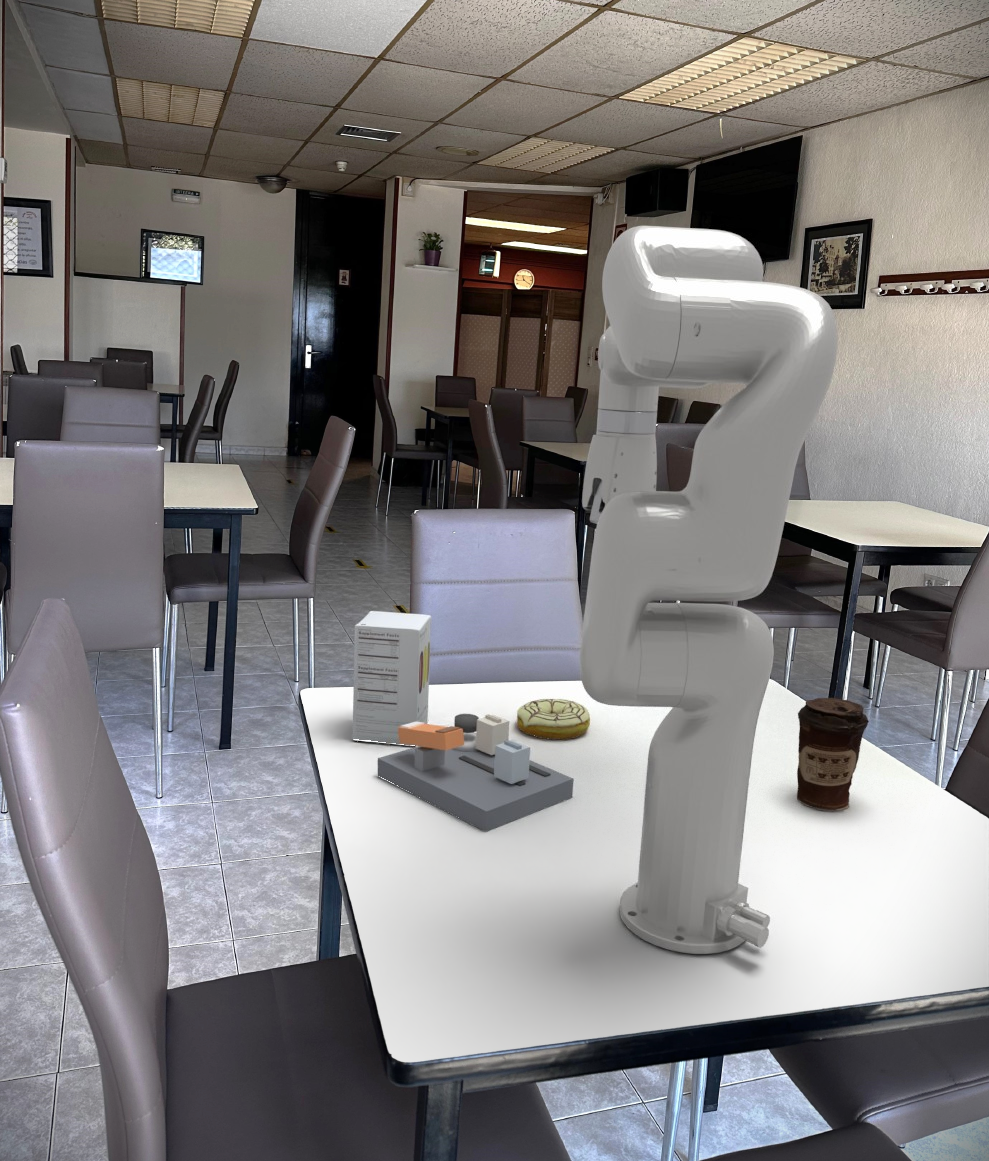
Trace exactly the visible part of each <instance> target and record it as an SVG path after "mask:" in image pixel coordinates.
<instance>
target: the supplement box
mask: <svg viewBox="0 0 989 1161" xmlns="http://www.w3.org/2000/svg"><path fill="white" fill-rule="evenodd" d="M431 630H432V615H431V614H421V613H405V612H391V611H377V610H371V611H369V612H368V613H367V614H366V615H365V616H364V617H363V618H362V619H361V620H360V621H359V622H358V623H356V624H355V625H354V635H353V638H354V642H353V693H352V694H353V698H352V699H353V700H352V704H353V705H352V706H353V707H352V740H353V739H359V740H371V741H378V742H386V743H396V744H403V743H399V734H398V727H400V726H402V725H405V724H409V723H412V722H424V724H428V721H429V720H428V718H429V717H428V716H429V714H428V713H429V691H430V690H429V688H430V687H429V685H430V662H431V659H430V657H431V639H432V638H431V636H432V634H431V632H432V631H431ZM404 745H409V744H404Z"/></svg>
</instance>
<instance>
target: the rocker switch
mask: <svg viewBox="0 0 989 1161" xmlns="http://www.w3.org/2000/svg"><path fill="white" fill-rule="evenodd" d="M398 734H399V743H403V744H409V745H415V746H416V747H417V746H421V747H428V748H434V749H440V750H449V749H452V748H456V747H459V746H462V745H464V736H463V729H460V727H454V726H453V725H451V726H447V725H446V726H444V725H436V724H431V723H427V724H424V722H412V723H409V724H405V725H402V726H400V727H398Z"/></svg>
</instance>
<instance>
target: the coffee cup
mask: <svg viewBox="0 0 989 1161" xmlns="http://www.w3.org/2000/svg"><path fill="white" fill-rule="evenodd" d="M864 708H865V707H864V706H863V705H861V704H860V703H857V702H854V701H850V700H848V699H842V698H835V697H817V698H814V699H807V700H806V701H805V705H804V706H803V707H801V708H800V710H799V711H798V712H797V718H798V723H799V724H798V725H799V731H798V750H797V751H798V764H797V768H796V769H797V770H796V777H797V793H796V799H797V801H798V802H800V803H801V804H802V805H804V806H807V807H808V808H809V807H810V808H814V809H815V810H821V811H830V812H831V811H832V812H833V811H842V810H843V811H844V810H846V809H848V808H850V794H851V793H850V789H851V786H852V785H853V784H852V780H853V777H854V776H853V775H854V773H855V771H856V768H857V764H858V762H859V758H860V757H859V756H860V751H861V745H862V740H863V734H864V733H865V730H866V729H867V727H868V725H869V723H870V720H869V719H868V717H867V715H866V714H864Z"/></svg>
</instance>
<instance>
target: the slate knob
mask: <svg viewBox="0 0 989 1161" xmlns="http://www.w3.org/2000/svg"><path fill="white" fill-rule="evenodd" d="M530 757H531V747H530V746H529V745H525V744H523V743H521V742H518V741H516V740H513V739H512V740H510V739H508V740H506V741H504V743H502V744H499V745H495V764H494V777H497V778H499V779H501V780H503V781H505V782H508V783H510V784H513V783H516V782H519V781H521V780H524V779H527V778H529V760H530Z"/></svg>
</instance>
